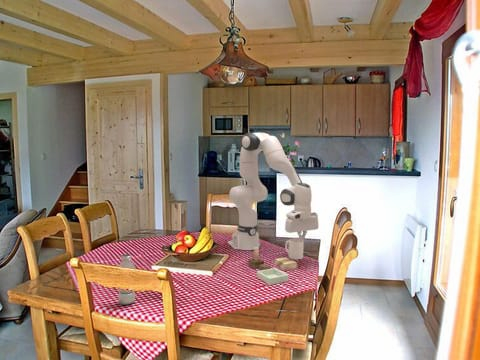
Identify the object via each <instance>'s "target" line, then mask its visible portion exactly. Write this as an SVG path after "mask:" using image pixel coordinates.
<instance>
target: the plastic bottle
mask: <svg viewBox="0 0 480 360" xmlns="http://www.w3.org/2000/svg"><path fill="white" fill-rule="evenodd" d="M132 259H133V258H132V254H130V253H125V254H121V262H120V263H119V265H118V267H124V268H131V269H135V270H136V265H135V264H134V262H133V261H132ZM117 299H118V303H120V305H126V306H127V305H131V304H133V303H134V302H135V300H136V292H135V290H134V291H130V290H122V289H118V296H117Z"/></svg>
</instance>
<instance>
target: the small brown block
mask: <svg viewBox="0 0 480 360" xmlns="http://www.w3.org/2000/svg"><path fill="white" fill-rule="evenodd" d="M267 269H272V268H271V266H270V264H268V263H264V264H263V265H260V268H259V271H262V270H267Z"/></svg>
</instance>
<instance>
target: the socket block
mask: <svg viewBox="0 0 480 360" xmlns="http://www.w3.org/2000/svg"><path fill="white" fill-rule="evenodd" d="M247 261H248V263H247V265H248V267H249V268H252V269H253V270H258V269H260V265H263V264H265V260H263V259H261V258H260V257H259V261H254V257H253V258H248V259H247Z"/></svg>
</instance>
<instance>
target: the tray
mask: <svg viewBox="0 0 480 360" xmlns="http://www.w3.org/2000/svg"><path fill="white" fill-rule="evenodd" d="M289 276H290V275H289V274H288V273H286V272H283V271H282V270H280V269H278V268H276V267H273V268H271V269H267V270H262V271H261V270H257V271H256V277H257V278H259V279H260V280H261V281H263V282H264V283H265V284H266V285H268V286H272V285H277V284H283V283H285V282H286V283H287V282H289Z"/></svg>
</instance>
